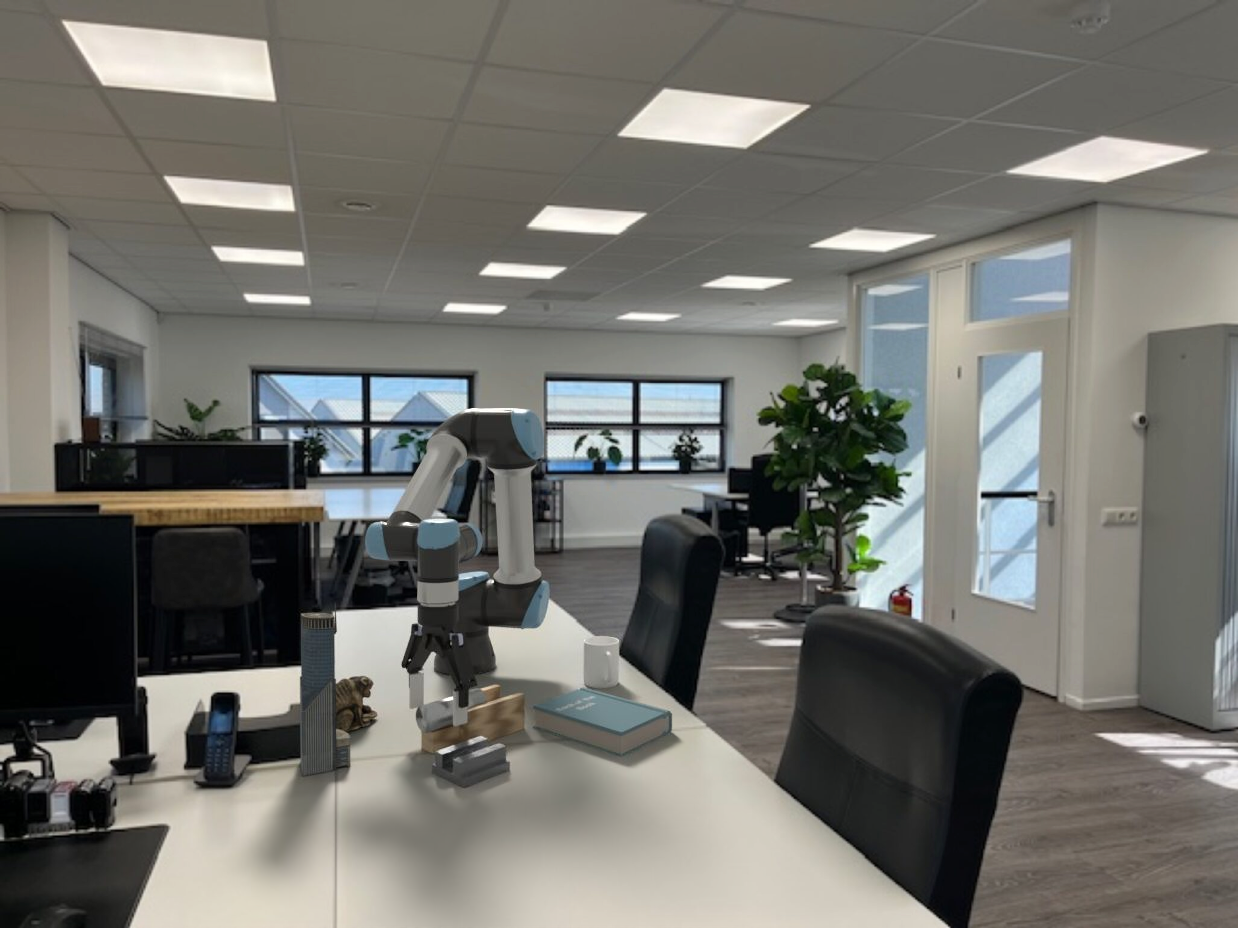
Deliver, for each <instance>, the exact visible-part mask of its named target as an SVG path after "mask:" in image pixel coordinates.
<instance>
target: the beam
mask: <svg viewBox="0 0 1238 928" xmlns="http://www.w3.org/2000/svg"><path fill="white" fill-rule="evenodd" d="M480 689H481V690H482V691H483V692H484V693H485V695H486V697H487V701H488V702H487V703H484V704H481V705H477V706H474V707H471V708H468V714H467V723H465V724H462V725H458V726H453V724H452V725H449V726H446V727H443V728H440V729H437V730H434V731H431V732H429V733H423V732H422V731H421V730H420V731H421V733H420V734H421V735H420V737H421V749H422V750H423V751H424V750H425V751H426V752H429V753H431V754H434V755H435V751H438V750H441V749H444V748H447V747H450V746H453V745H456V744H459V743H461V742H464V741H467V740H470V739H473V738H476V737H479V736H483V737H485V738H488V742H490V741H493V740H497V739H499V738H502V737H505V736H508V735H510V734H513V733H516V732H519V731H522V730H525V728H526V727H525V725H526V723H525V722H526V721H525V720H526V719H525V717H526V715H525V714H526V712H525V710H526V709H525V708H526V707H525V705H526V703H525V702H526V701H525V700H526V699H525V698H526V694H525V693H522V692H518V693H514V694H510V695H507V696H504V697H501V685H500V684H492V685H489V686H484V687H482V688H480Z"/></svg>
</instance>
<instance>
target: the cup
mask: <svg viewBox="0 0 1238 928" xmlns="http://www.w3.org/2000/svg"><path fill="white" fill-rule="evenodd" d="M582 677H583V683H584V685H586V686H587V687H589V688H593V689H609V688H614V687H615V686H616V687H617V685H618V684H619V679H620V678H619V677H620V640H619V638H617V637H612V636H605V635H599V636H598V635H597V636H595V635H594V636H589V637H587V638H585V639H583V676H582Z"/></svg>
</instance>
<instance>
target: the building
mask: <svg viewBox="0 0 1238 928" xmlns="http://www.w3.org/2000/svg"><path fill="white" fill-rule="evenodd" d="M337 632H338V627H337V606H336V603H334V615H333V614H331V613H326V612H307V613H306V612H305V613H300V669H301V671H300V672H301V673H300V674H301V675H300V676H299V700H300V701H299V706H300V707H299V715H300V717H299V718H300V720H299V723H300V725H299V726H300V727H299V729H300V736H299V737H300V769H301V777H307V776H312V775H313V776H314V775H318V774H323V773H324V774H325V773H329V772H333V771H335V770H337V769H342V768H343V769H344V768H350V767H351V736H350V734H349V733H348V731H343V730H339V729H336V683H337V679H336V678H335V673H336V672H335V668H336V666H335V665H336V664H335V662H336V661H335V656H336V655H335V635H336V634H337Z"/></svg>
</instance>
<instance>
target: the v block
mask: <svg viewBox="0 0 1238 928" xmlns="http://www.w3.org/2000/svg"><path fill="white" fill-rule="evenodd" d="M434 756H435V757H434V758H435V762H434V763H432V764H431V773H432V774H435V775H436V776H438V777H441V778H442V779H445V780H448V781H449V782H451V783H453V784H455V785H457V786H460V787H461V788H467V787H469V786H473V785H475V784H477V783H480V782H483V781H485V780H487V779H491V778H493V777H495V776H498V775H501V774H502V773H506V772H507V771H510V770H511V769H510V768H511V762H510V760H507V746H506V745H504V744H503V743H499V742H498V743H495V744H493V745H490V746H489V741H488V738H485V737H483V736H479V737H476V738H473V739H470V740H467V741H464V742H461V743H459V744H456V745H453V746H450V747H447V748H444V749H441V750H438V751H435V753H434Z"/></svg>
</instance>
